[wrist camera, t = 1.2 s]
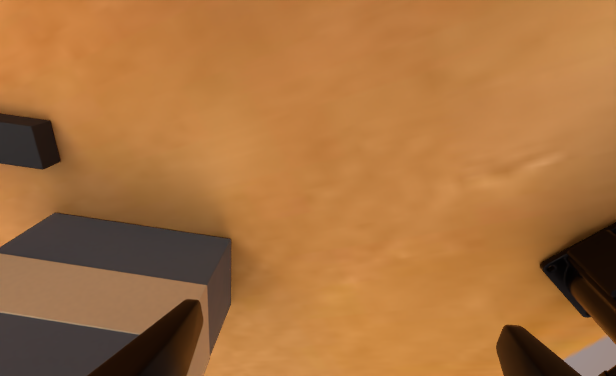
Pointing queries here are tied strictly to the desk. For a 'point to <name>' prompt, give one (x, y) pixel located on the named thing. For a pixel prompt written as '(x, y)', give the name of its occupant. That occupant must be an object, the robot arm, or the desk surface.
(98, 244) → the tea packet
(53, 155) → the strips
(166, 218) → the desk surface
